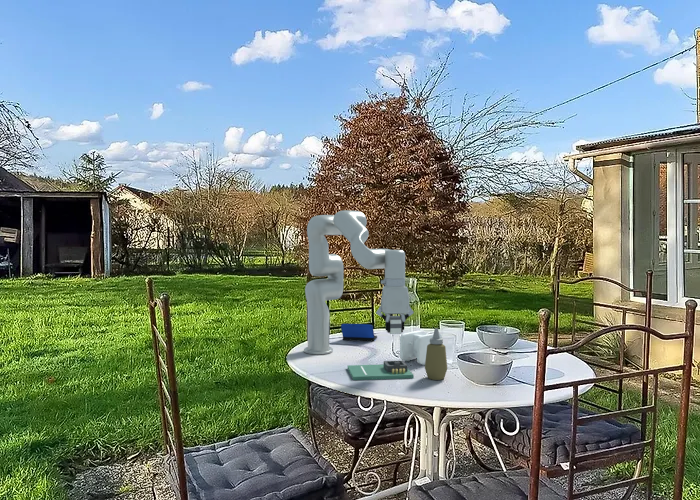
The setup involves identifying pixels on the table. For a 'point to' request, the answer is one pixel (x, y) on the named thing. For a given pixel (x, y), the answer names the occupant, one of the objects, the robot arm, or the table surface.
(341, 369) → the table surface
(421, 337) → the cable organizer
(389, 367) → the board
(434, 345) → the squeeze bottle
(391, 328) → the plug
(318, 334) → the robot arm
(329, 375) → the table surface
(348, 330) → the laptop
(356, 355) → the table surface
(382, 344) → the table surface
